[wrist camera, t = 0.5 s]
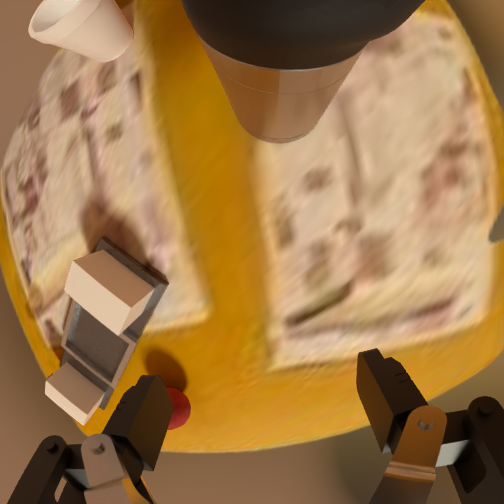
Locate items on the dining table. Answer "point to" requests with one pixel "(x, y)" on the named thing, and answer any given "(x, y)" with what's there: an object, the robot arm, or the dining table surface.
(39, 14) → the foam cup
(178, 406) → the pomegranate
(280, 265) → the dining table surface
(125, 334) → the mounting plate
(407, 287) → the dining table surface
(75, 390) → the mounted modules
